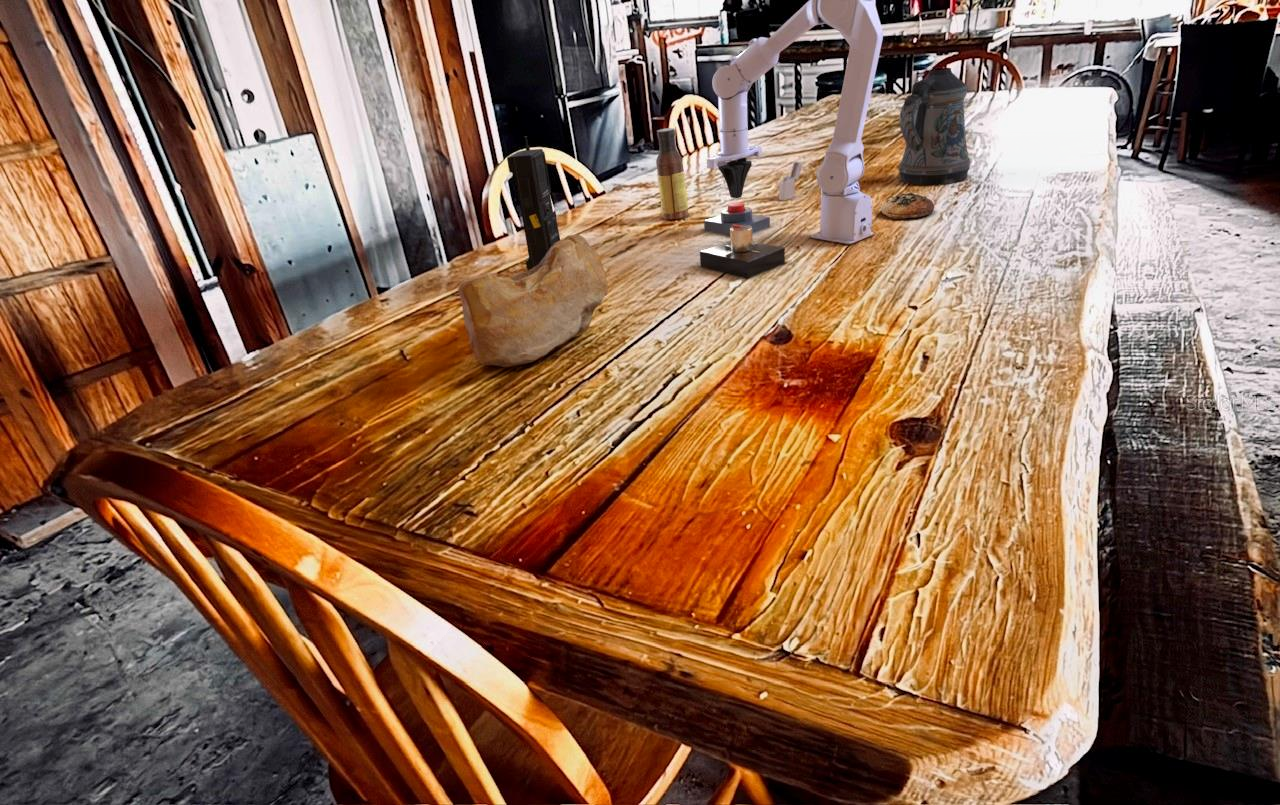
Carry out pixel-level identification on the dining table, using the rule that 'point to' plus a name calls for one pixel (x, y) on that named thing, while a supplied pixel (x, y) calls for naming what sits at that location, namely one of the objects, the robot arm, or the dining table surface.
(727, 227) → the button box
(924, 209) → the bread roll
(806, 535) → the dining table surface
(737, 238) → the dial
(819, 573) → the dining table surface
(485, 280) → the rough brown rock
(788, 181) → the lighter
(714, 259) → the dial panel
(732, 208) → the power button
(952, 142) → the beer stein
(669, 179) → the sauce bottle
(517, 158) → the portable radio
